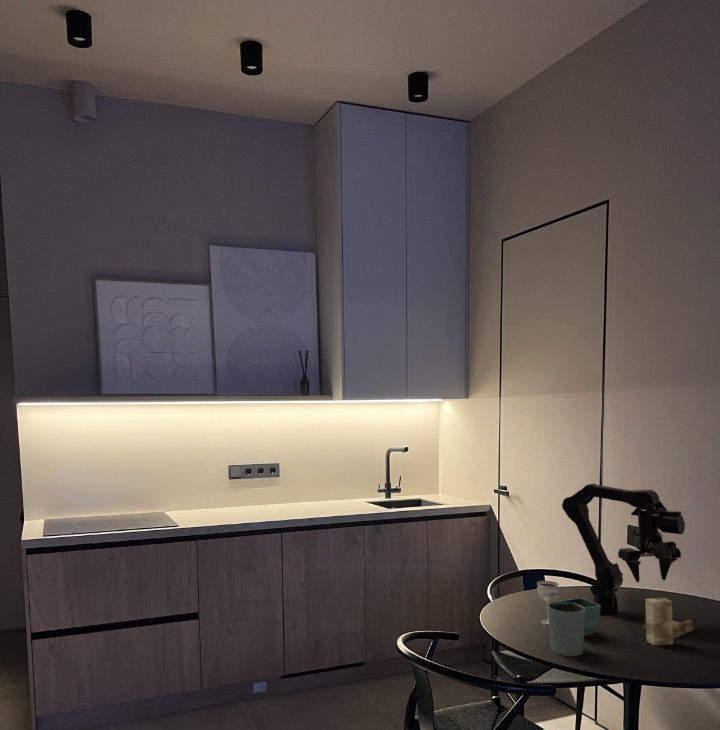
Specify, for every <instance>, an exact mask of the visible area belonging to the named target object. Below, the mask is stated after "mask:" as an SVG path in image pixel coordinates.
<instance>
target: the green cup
mask: <svg viewBox="0 0 720 730" xmlns="http://www.w3.org/2000/svg"><path fill="white" fill-rule="evenodd" d="M547 607H548V616H547V618H548V617H549V625H548V626H549V627H548V628H549V630H548V631H549V638H550V649H551V651H552V653H554V654H557V655H559V656H564V657H578V656H581V655H583V652H584V638H585V636H584V620H585V610H586V609H585V607H584V606H582V605H579V604H576V603H570V602H559V601H551V602H549V604H548V605H547V604H546V608H547Z"/></svg>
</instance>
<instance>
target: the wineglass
mask: <svg viewBox="0 0 720 730" xmlns="http://www.w3.org/2000/svg"><path fill="white" fill-rule="evenodd" d="M536 585H537V587H536V593H537V595H538V596H539V598H540V599H542V600H544V601H545V602H546V612H547V613H546V614H547V615H546V616H547V619H543V620H540V621H541V622H542V623H543V624H542V623H541V624H542V625H545V624H548V625H547V626H549V617H548V607H547V605H548V604H549V603H552V601H554V600H555V599H557V598H558V596H559V593H560V589H559V582H556V581H551V580H539V581H537V582H536Z"/></svg>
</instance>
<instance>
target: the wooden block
mask: <svg viewBox="0 0 720 730" xmlns="http://www.w3.org/2000/svg"><path fill="white" fill-rule="evenodd" d="M672 620H673V601H672V600H670V599H668V598H666V597H658V598H657V597H655V598H645V621H646V630H645V631H646V634H645V636H646V642H647V641H648V642H647V643H649V644H650V643H651V644H650V645H652V646H654V645H655V646H665V645H668V644H669V645H674V641H673V640H674V638H673V626H672Z"/></svg>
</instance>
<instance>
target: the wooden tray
mask: <svg viewBox="0 0 720 730" xmlns="http://www.w3.org/2000/svg"><path fill="white" fill-rule="evenodd" d="M672 626H673V637H674V638H673V639H677V638H679V637H681V636H683V635H686V634H687V632H688V633H690V632H692V631H694V630H695V629H696V628H695V625H693V620H692V619H687V620H684V621H682V622H681V621H680V622H679V621H676V620H673V619H672ZM644 629H646V620H644V624H643V626H642V630H644ZM689 631H690V632H689ZM685 633H686V634H685ZM680 635H681V636H680ZM676 637H677V638H676Z"/></svg>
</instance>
